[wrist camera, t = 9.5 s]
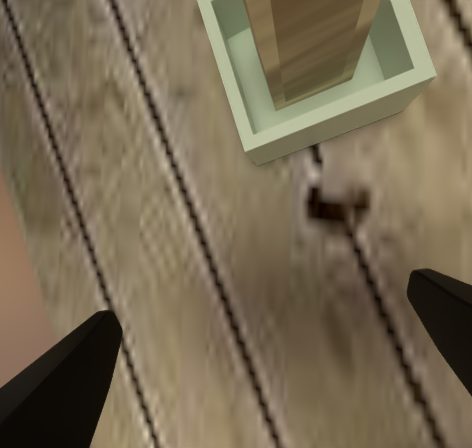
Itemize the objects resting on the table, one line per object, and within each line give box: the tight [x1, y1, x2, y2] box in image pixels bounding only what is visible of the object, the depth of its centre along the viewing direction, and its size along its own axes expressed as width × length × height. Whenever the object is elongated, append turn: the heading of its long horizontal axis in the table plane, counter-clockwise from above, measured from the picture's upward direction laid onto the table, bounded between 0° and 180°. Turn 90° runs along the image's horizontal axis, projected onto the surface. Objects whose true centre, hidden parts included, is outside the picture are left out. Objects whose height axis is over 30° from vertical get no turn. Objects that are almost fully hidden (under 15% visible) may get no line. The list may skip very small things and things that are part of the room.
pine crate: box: [243, 0, 381, 111], centre depth 13 cm, size 5×5×10 cm
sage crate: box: [197, 0, 437, 166], centre depth 17 cm, size 11×11×4 cm
